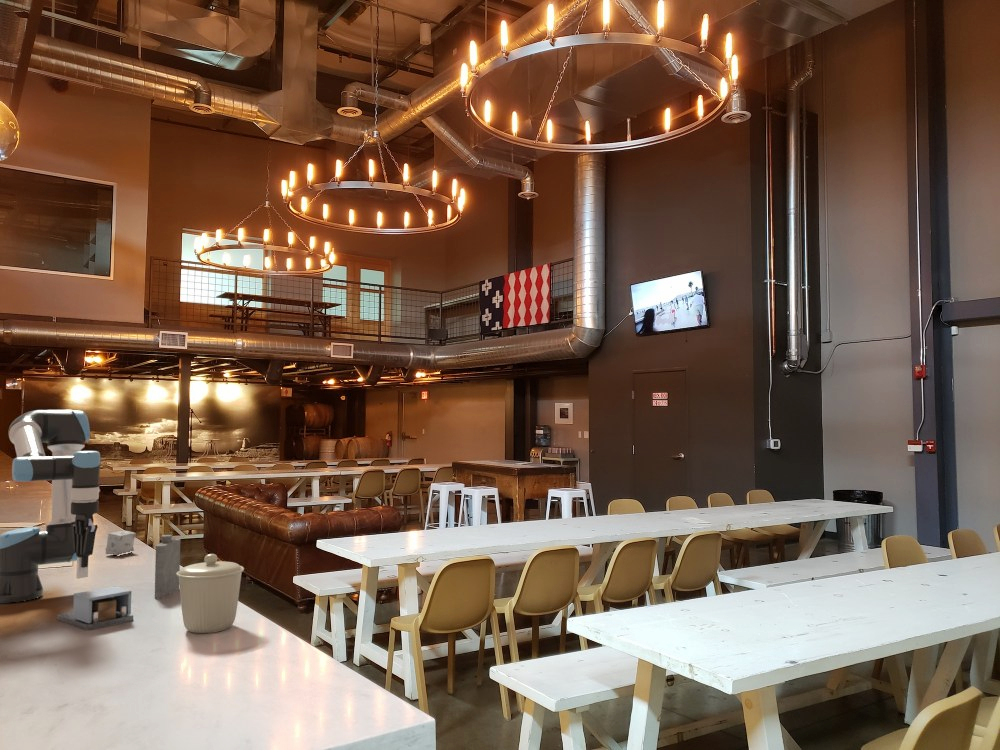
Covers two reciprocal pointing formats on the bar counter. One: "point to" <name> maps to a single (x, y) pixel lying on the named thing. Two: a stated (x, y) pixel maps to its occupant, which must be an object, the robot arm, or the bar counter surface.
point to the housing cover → (84, 599)
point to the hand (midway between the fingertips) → (82, 577)
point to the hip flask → (167, 566)
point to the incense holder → (120, 542)
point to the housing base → (93, 625)
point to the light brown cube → (104, 608)
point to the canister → (209, 594)
